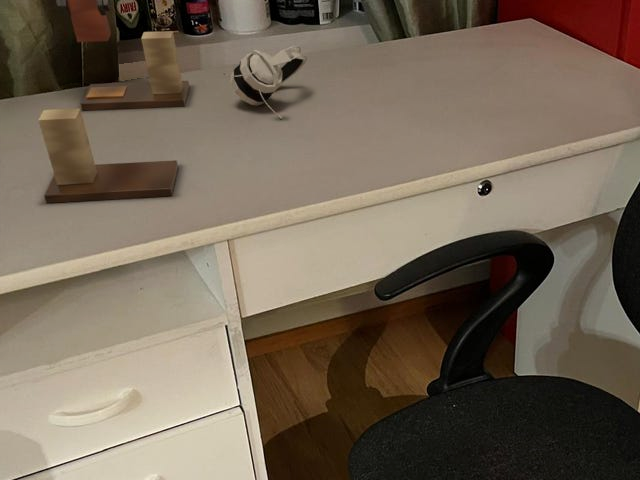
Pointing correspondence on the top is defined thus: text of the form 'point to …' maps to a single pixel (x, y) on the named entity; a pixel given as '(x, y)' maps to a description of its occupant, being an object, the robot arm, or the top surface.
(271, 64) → the headphones
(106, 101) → the upright block on base
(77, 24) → the tall red-orange pillar
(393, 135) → the top surface
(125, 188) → the cream block stand
